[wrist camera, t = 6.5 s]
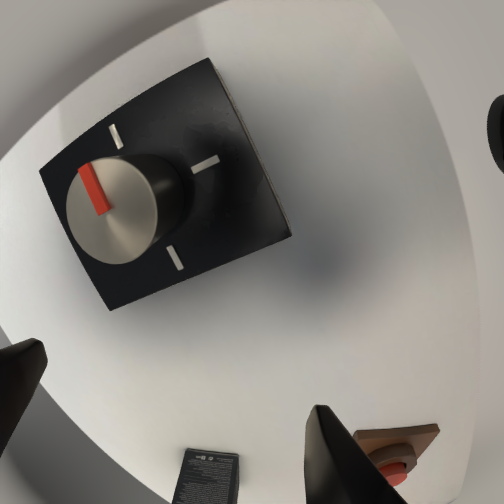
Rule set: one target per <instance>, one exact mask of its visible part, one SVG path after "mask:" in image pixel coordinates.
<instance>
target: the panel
mask: <svg viewBox="0 0 504 504" xmlns="http://www.w3.org/2000/svg"><path fill="white" fill-rule="evenodd" d="M136 154H152V155H155V156H158V157H161V158H162V159H164V160H166V161H167V162H168V163H170V164H171V165H172V166H173V167H174V169H175V170H176V171H177V173H178V175H179V176H180V178H181V181H182V184H183V188H184V207H183V211H182V213H181V216H180V218H179V220H178V221H177V223H176V224H175V225H174V226H173V227H172V228H171V229H170V230H169V231H168V232H167V233H166V234H164V235H163V236H162V237H161V238H160V239H159V240H157V241H156V242H155V243H154V244H153V245H152V246H151V247H149V248H148V249H147V250H146V251H145V252H144V253H143V254H142V255H140V256H139V257H138V258H136V259H134V260H133V261H130V262H127V263H123V264H109V263H105V262H102V261H99V260H97V259H95V258H93V257H92V256H90V255H89V254H88V253H87V252H85V251H84V250H83V249H82V248H81V246H80V245H79V244H78V242H77V241H76V240H75V238H74V236H73V234H72V232H71V229H70V226H69V223H68V219H67V211H66V202H67V195H68V191H69V188H70V185H71V183H72V181H73V179H74V178H75V176H76V175H77V173H78V169H79V168H80V167H82V166H83V165H85V164H86V163H90V162H91V161H94V160H96V159H99V158H104V157H114V156H124V155H136ZM39 173H40V175H41V178H42V180H43V183H44V185H45V188H46V190H47V193H48V195H49V197H50V200H51V202H52V204H53V206H54V209H55V211H56V213H57V215H58V217H59V220H60V222H61V224H62V226H63V228H64V230H65V232H66V234H67V236H68V238H69V240H70V242H71V244H72V246H73V248H74V250H75V252H76V254H77V256H78V257H79V259H80V261H81V263H82V265H83V267H84V268H85V270H86V272H87V274H88V276H89V277H90V279H91V281H92V283H93V284H94V286H95V288H96V289H97V291H98V293H99V294H100V296H101V298H102V299H103V301H104V303H105V304H106V306H107V308H108V309H109V311H112V310H114V309H117V308H119V307H122V306H124V305H126V304H129V303H131V302H134V301H136V300H139V299H141V298H143V297H146V296H148V295H151V294H153V293H156V292H158V291H160V290H163V289H165V288H168V287H170V286H172V285H175V284H177V283H180V282H182V281H185V280H187V279H189V278H192V277H194V276H197V275H199V274H202V273H204V272H206V271H209V270H211V269H214V268H216V267H219V266H221V265H223V264H226V263H228V262H231V261H233V260H236V259H238V258H240V257H243V256H245V255H248V254H250V253H252V252H255V251H257V250H260V249H262V248H265V247H267V246H269V245H272V244H274V243H277V242H279V241H282V240H284V239H286V238H289V237H291V236H292V233H291V229H290V225H289V221H288V219H287V217H286V215H285V212H284V210H283V208H282V205H281V203H280V201H279V199H278V196H277V194H276V192H275V190H274V187H273V185H272V183H271V181H270V178H269V176H268V174H267V172H266V170H265V167H264V165H263V163H262V161H261V159H260V156H259V154H258V152H257V150H256V148H255V146H254V144H253V141H252V139H251V137H250V135H249V133H248V131H247V129H246V127H245V125H244V123H243V120H242V118H241V116H240V114H239V112H238V110H237V108H236V106H235V104H234V102H233V100H232V98H231V96H230V94H229V92H228V90H227V88H226V86H225V84H224V82H223V80H222V78H221V76H220V74H219V72H218V70H217V69H216V67H215V66H214V65H213V63H212V62H211V60H210V59H209V58H206V59H204V60H201V61H199V62H197V63H195V64H193V65H191V66H189V67H187V68H186V69H184V70H182V71H180V72H178V73H176V74H174V75H172V76H171V77H169V78H167V79H165V80H163V81H162V82H160V83H158V84H156V85H155V86H153V87H151V88H150V89H148V90H146V91H145V92H143V93H141V94H140V95H138V96H137V97H135V98H133V99H132V100H130V101H129V102H127V103H126V104H124V105H123V106H121V107H120V108H118V109H117V110H115V111H114V112H112V113H111V114H109V115H108V116H106V117H105V118H104V119H102V120H101V121H99V122H98V123H97V124H95V125H94V126H92V127H91V128H90V129H88V130H87V131H86V132H84V133H83V134H82V135H81V136H79V137H78V138H77V139H75V140H74V141H73V142H72V143H70V144H69V145H68V146H67V147H66V148H64V149H63V150H62V151H61V152H60V153H58V154H57V155H56V156H55V157H54V158H52V159H51V160H50V161H49V162H48V163H47V164H46V165H45V166H43V167H42V168H41V169H40V170H39Z"/></svg>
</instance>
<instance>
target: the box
mask: <svg viewBox="0 0 504 504" xmlns="http://www.w3.org/2000/svg"><path fill="white" fill-rule="evenodd" d="M238 490H239V458H238V456H237V455H229V454H220V453H212V452H204V451H197V450H191V449H187V450H186V451H185V455H184V459H183V462H182V466H181V470H180V474H179V478H178V481H177V485H176V489H175V492H174V496H173V500H172V504H237V499H238Z"/></svg>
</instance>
